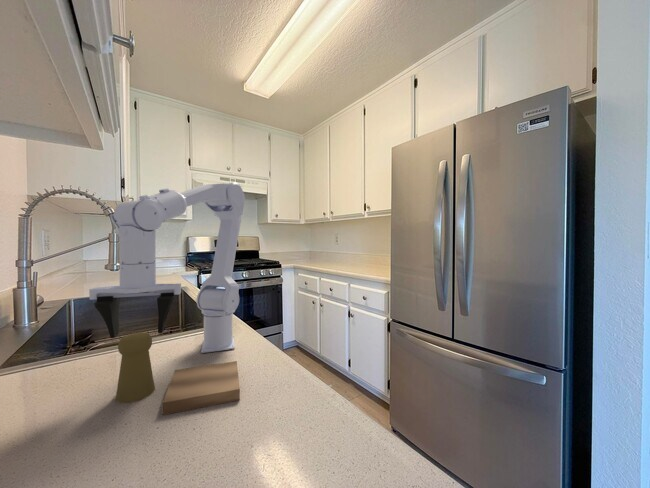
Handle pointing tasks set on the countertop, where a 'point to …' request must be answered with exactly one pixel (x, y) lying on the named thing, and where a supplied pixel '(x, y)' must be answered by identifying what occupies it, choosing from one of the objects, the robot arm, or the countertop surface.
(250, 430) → the countertop surface
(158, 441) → the countertop surface
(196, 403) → the walnut base
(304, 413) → the countertop surface
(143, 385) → the olive tapered knobbed peg
